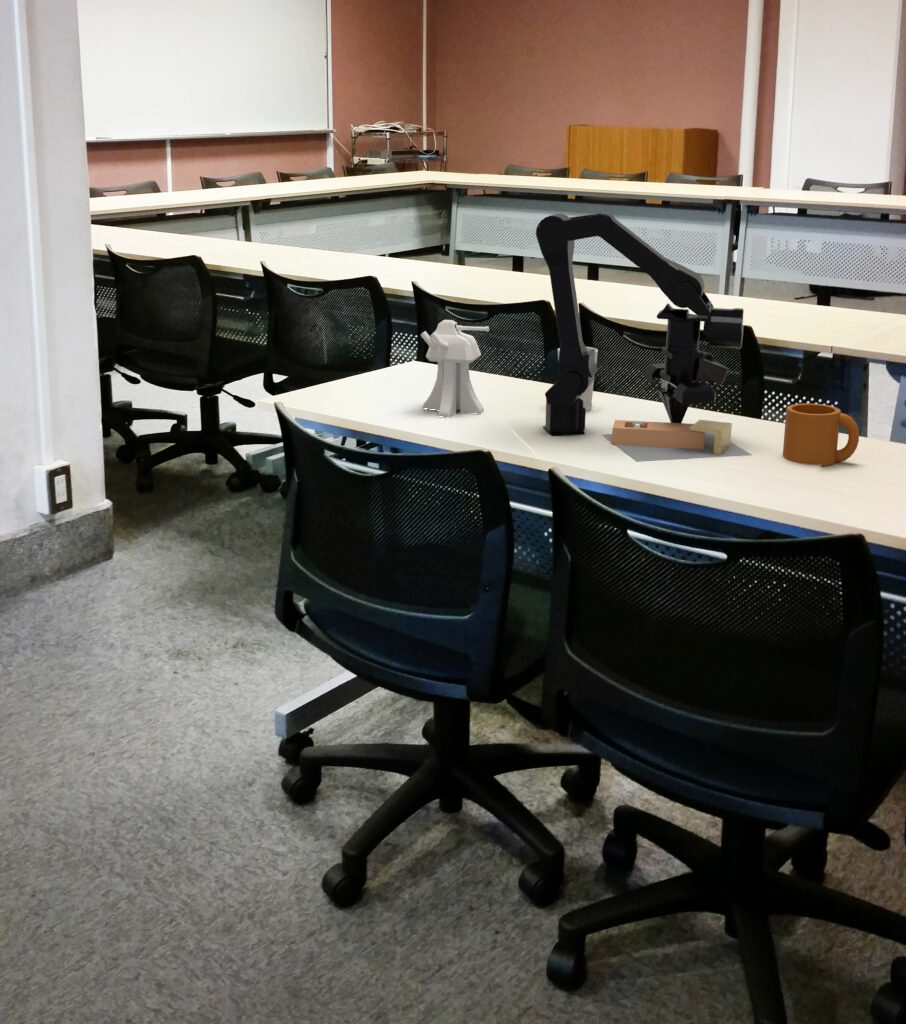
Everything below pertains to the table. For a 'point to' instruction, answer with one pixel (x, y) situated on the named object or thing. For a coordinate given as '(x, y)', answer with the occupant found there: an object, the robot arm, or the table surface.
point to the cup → (589, 391)
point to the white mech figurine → (453, 369)
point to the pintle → (637, 425)
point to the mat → (677, 451)
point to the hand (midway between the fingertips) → (676, 429)
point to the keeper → (716, 433)
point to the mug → (817, 434)
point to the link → (657, 435)
